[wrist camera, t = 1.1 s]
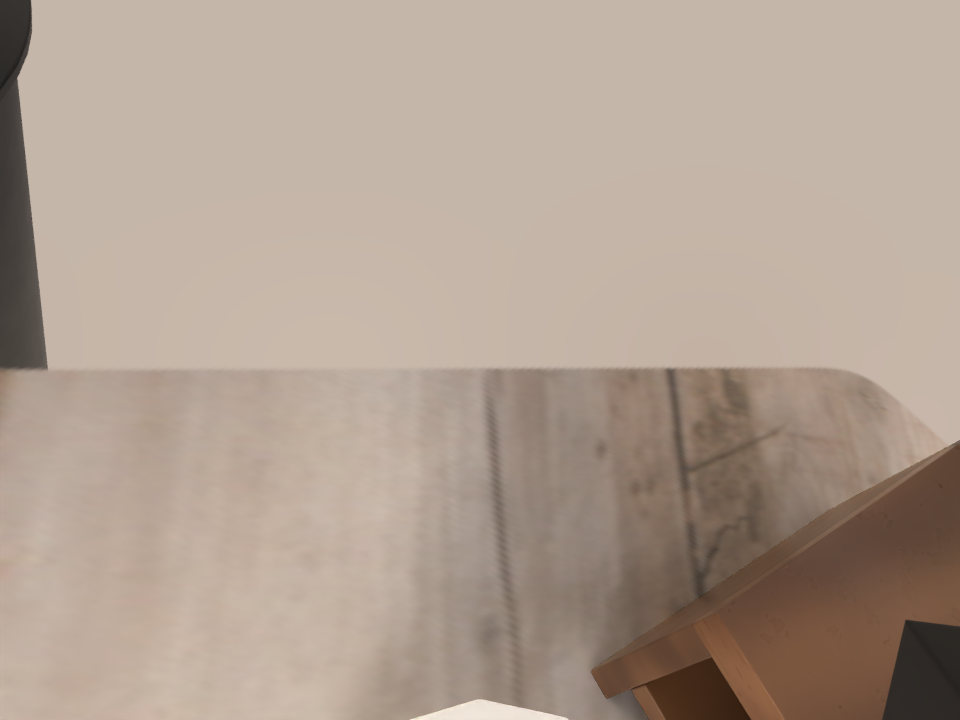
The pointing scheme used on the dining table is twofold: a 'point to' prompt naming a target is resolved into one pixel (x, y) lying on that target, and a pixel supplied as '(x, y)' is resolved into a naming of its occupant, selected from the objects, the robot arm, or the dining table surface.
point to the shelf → (810, 612)
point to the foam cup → (488, 712)
